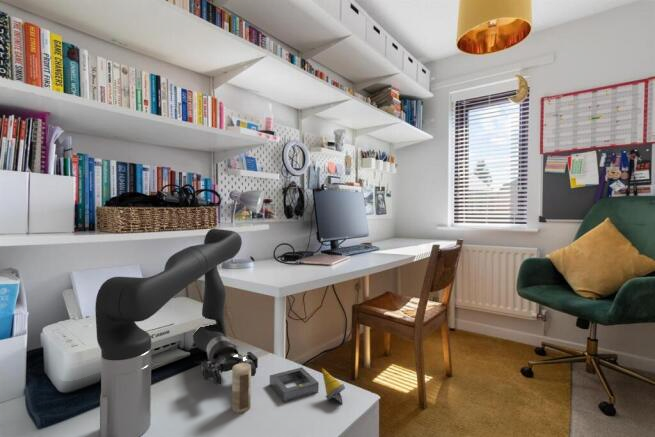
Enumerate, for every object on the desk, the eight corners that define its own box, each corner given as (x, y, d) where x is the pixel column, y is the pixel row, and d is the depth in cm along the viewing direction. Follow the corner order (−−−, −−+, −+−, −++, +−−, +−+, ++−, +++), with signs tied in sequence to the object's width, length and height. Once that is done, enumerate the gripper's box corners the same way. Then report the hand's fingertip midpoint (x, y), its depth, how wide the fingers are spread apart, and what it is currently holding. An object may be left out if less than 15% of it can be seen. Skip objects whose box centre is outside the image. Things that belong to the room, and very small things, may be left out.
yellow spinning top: (331, 412, 80) (310, 374, 85) (336, 410, 85) (316, 374, 89) (349, 398, 80) (327, 361, 85) (353, 397, 85) (332, 362, 90)
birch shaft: (234, 415, 77) (235, 373, 77) (229, 405, 81) (230, 365, 81) (253, 409, 80) (253, 368, 79) (247, 400, 83) (247, 361, 83)
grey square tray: (284, 402, 83) (284, 391, 83) (269, 384, 91) (269, 374, 91) (318, 391, 88) (318, 381, 88) (301, 375, 97) (301, 366, 97)
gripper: (196, 345, 94) (208, 368, 80) (245, 336, 101) (264, 356, 87) (196, 371, 94) (207, 399, 80) (245, 360, 101) (263, 384, 87)
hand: (237, 376), depth 83 cm, fingers open, 8 cm apart
